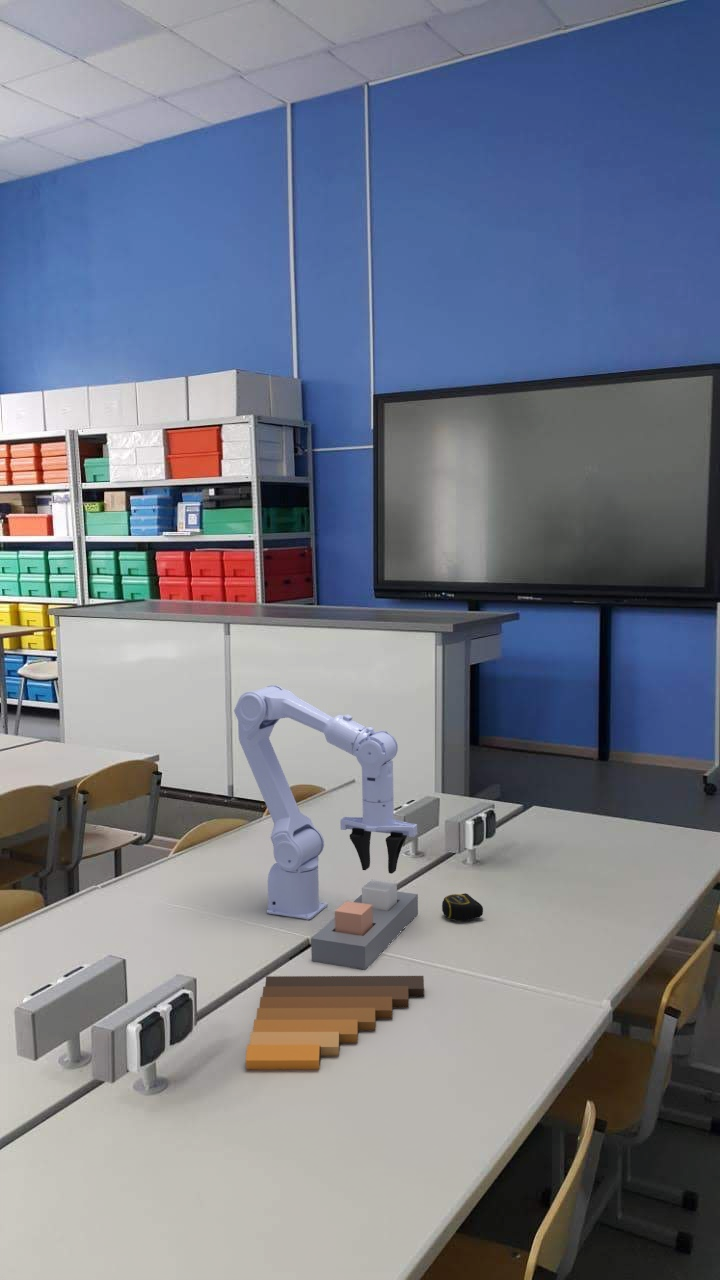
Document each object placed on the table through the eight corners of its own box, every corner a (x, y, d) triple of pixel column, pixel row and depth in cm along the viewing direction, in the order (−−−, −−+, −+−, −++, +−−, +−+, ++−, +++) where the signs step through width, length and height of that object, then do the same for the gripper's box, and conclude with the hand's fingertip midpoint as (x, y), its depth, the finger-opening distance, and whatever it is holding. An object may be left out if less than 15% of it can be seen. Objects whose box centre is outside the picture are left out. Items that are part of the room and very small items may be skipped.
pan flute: (423, 991, 161) (268, 991, 162) (423, 970, 161) (267, 971, 162) (429, 1074, 136) (246, 1075, 137) (429, 1051, 136) (245, 1051, 137)
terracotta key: (335, 936, 175) (334, 911, 174) (347, 925, 179) (346, 901, 179) (361, 940, 173) (361, 914, 172) (372, 929, 177) (372, 904, 177)
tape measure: (484, 922, 188) (484, 902, 188) (450, 926, 186) (450, 907, 186) (469, 909, 195) (469, 890, 194) (436, 913, 192) (436, 894, 192)
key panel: (311, 960, 172) (311, 938, 172) (369, 907, 196) (369, 887, 195) (365, 969, 168) (365, 946, 168) (418, 914, 192) (417, 894, 191)
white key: (362, 911, 186) (361, 888, 185) (372, 902, 190) (372, 879, 190) (387, 915, 184) (387, 891, 183) (397, 905, 188) (396, 882, 188)
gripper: (333, 800, 184) (334, 872, 186) (407, 807, 178) (408, 881, 180) (348, 791, 191) (349, 860, 192) (420, 797, 185) (421, 869, 186)
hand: (379, 870), depth 186 cm, fingers open, 5 cm apart
